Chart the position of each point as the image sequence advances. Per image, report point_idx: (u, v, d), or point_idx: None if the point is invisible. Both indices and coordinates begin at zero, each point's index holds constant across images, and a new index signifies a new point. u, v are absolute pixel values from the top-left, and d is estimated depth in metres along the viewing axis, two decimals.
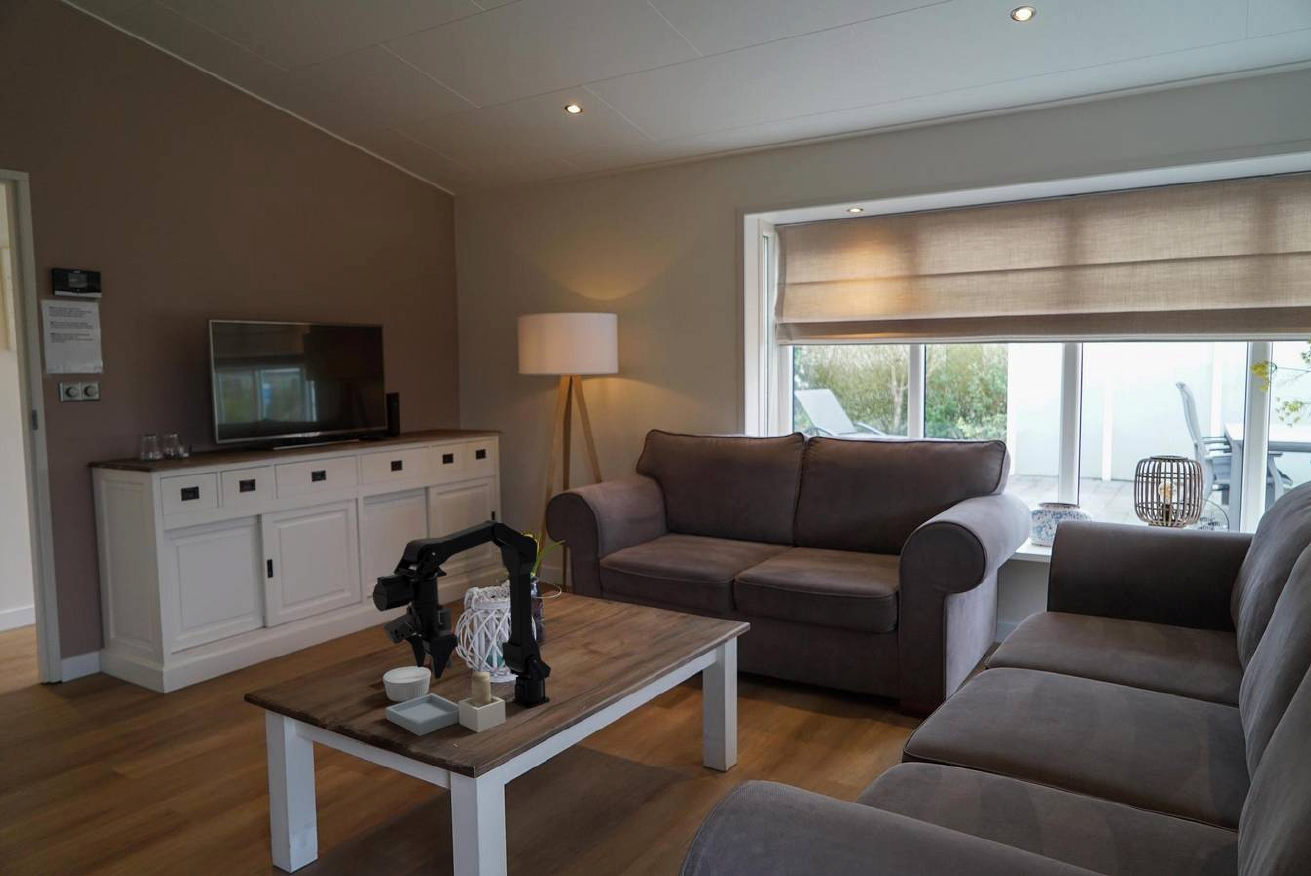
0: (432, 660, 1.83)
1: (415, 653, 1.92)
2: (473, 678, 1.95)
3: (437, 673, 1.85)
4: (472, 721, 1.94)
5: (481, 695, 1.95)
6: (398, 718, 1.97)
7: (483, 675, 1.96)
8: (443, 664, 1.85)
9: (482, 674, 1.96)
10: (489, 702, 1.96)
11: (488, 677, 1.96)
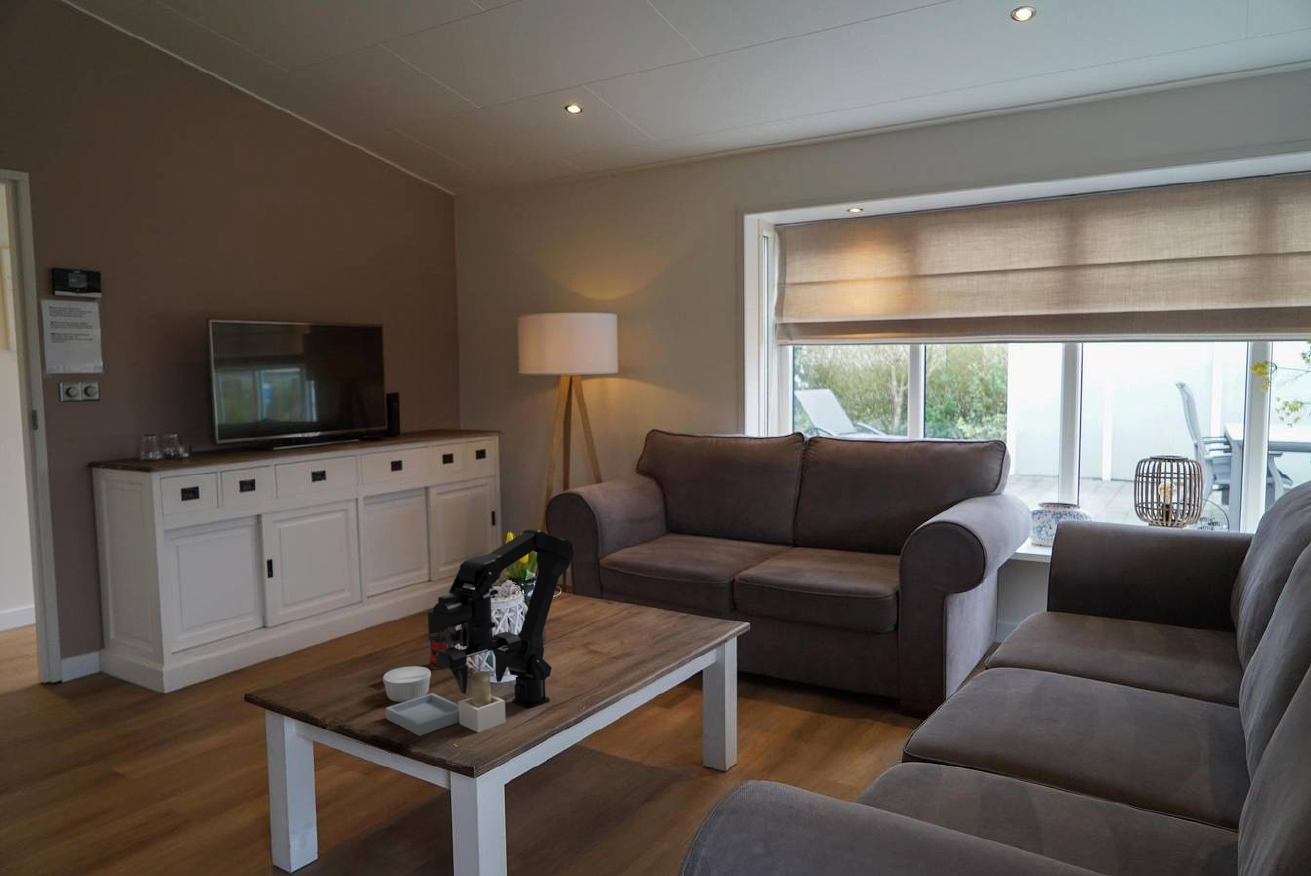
0: None
1: (495, 666, 2.00)
2: (473, 678, 1.95)
3: (460, 688, 1.93)
4: (472, 721, 1.94)
5: (481, 695, 1.95)
6: (398, 718, 1.97)
7: (483, 675, 1.96)
8: (461, 681, 1.92)
9: (482, 674, 1.96)
10: (489, 702, 1.96)
11: (488, 677, 1.96)
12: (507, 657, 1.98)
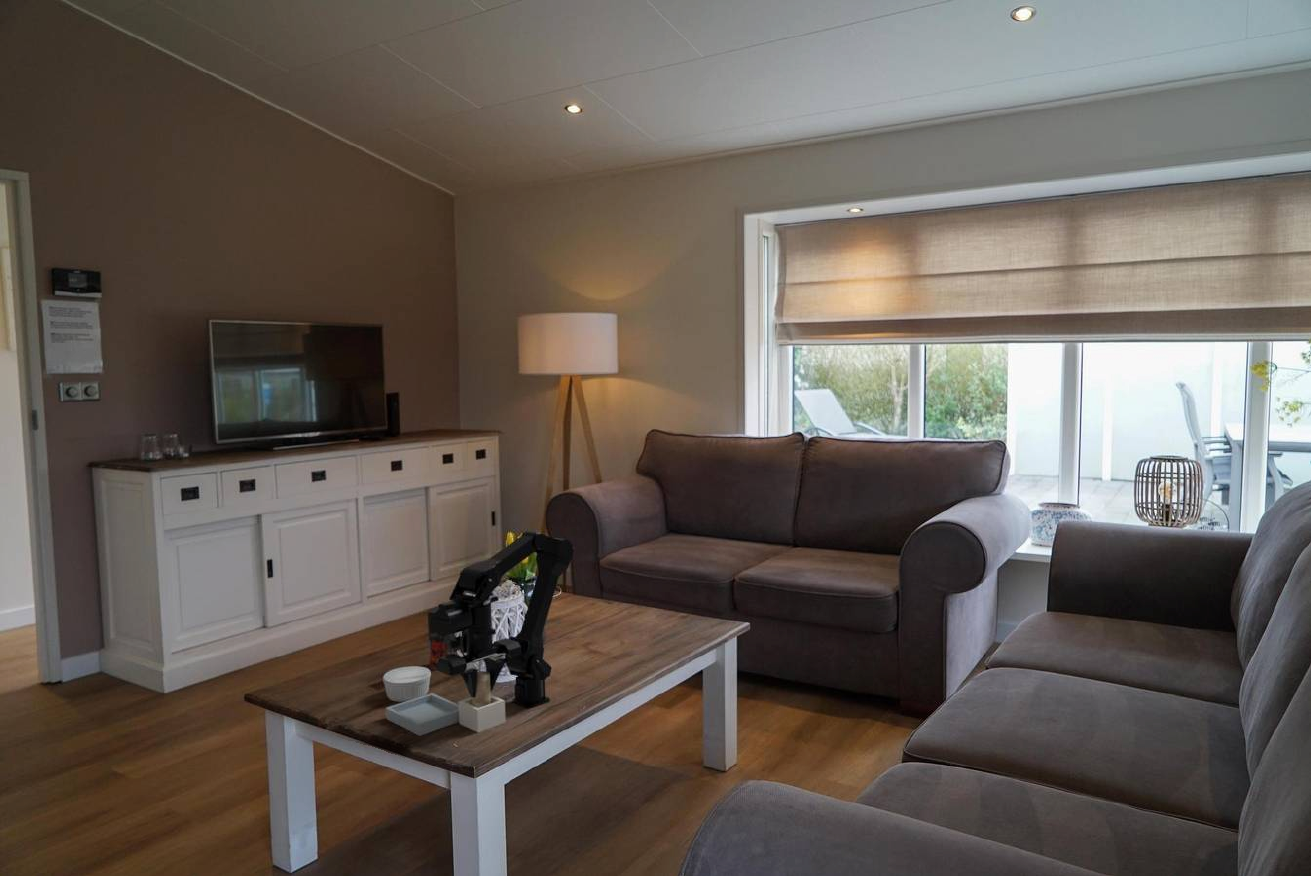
0: None
1: None
2: None
3: (470, 691, 1.95)
4: (472, 721, 1.94)
5: (481, 695, 1.95)
6: (398, 718, 1.97)
7: (483, 675, 1.96)
8: (471, 685, 1.94)
9: (482, 674, 1.96)
10: (489, 702, 1.96)
11: (488, 677, 1.96)
12: (498, 667, 1.97)
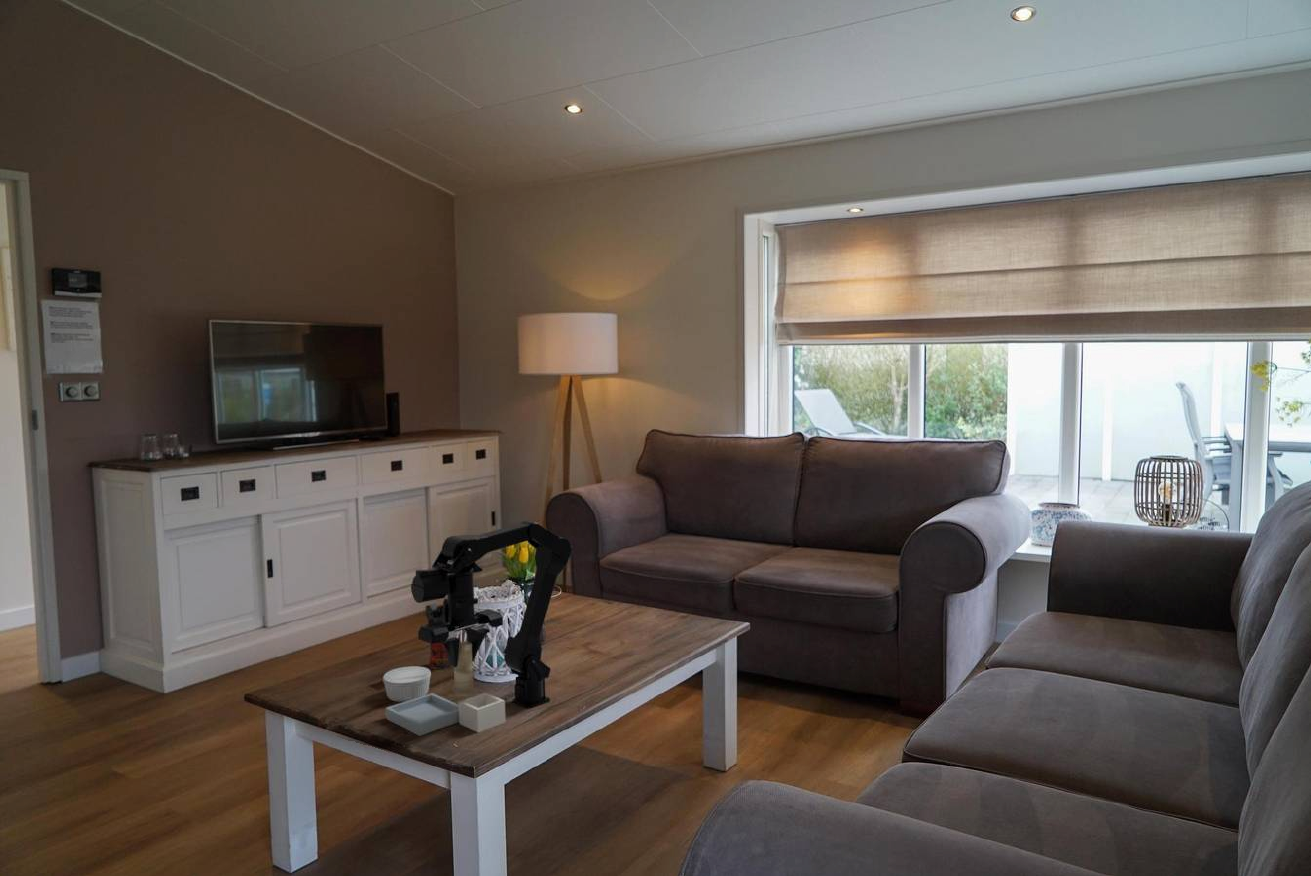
0: None
1: None
2: None
3: (451, 661, 1.95)
4: (472, 721, 1.94)
5: (463, 664, 1.95)
6: (398, 718, 1.97)
7: (465, 645, 1.96)
8: (453, 654, 1.94)
9: (464, 644, 1.96)
10: (471, 672, 1.96)
11: (470, 647, 1.96)
12: (480, 637, 1.97)
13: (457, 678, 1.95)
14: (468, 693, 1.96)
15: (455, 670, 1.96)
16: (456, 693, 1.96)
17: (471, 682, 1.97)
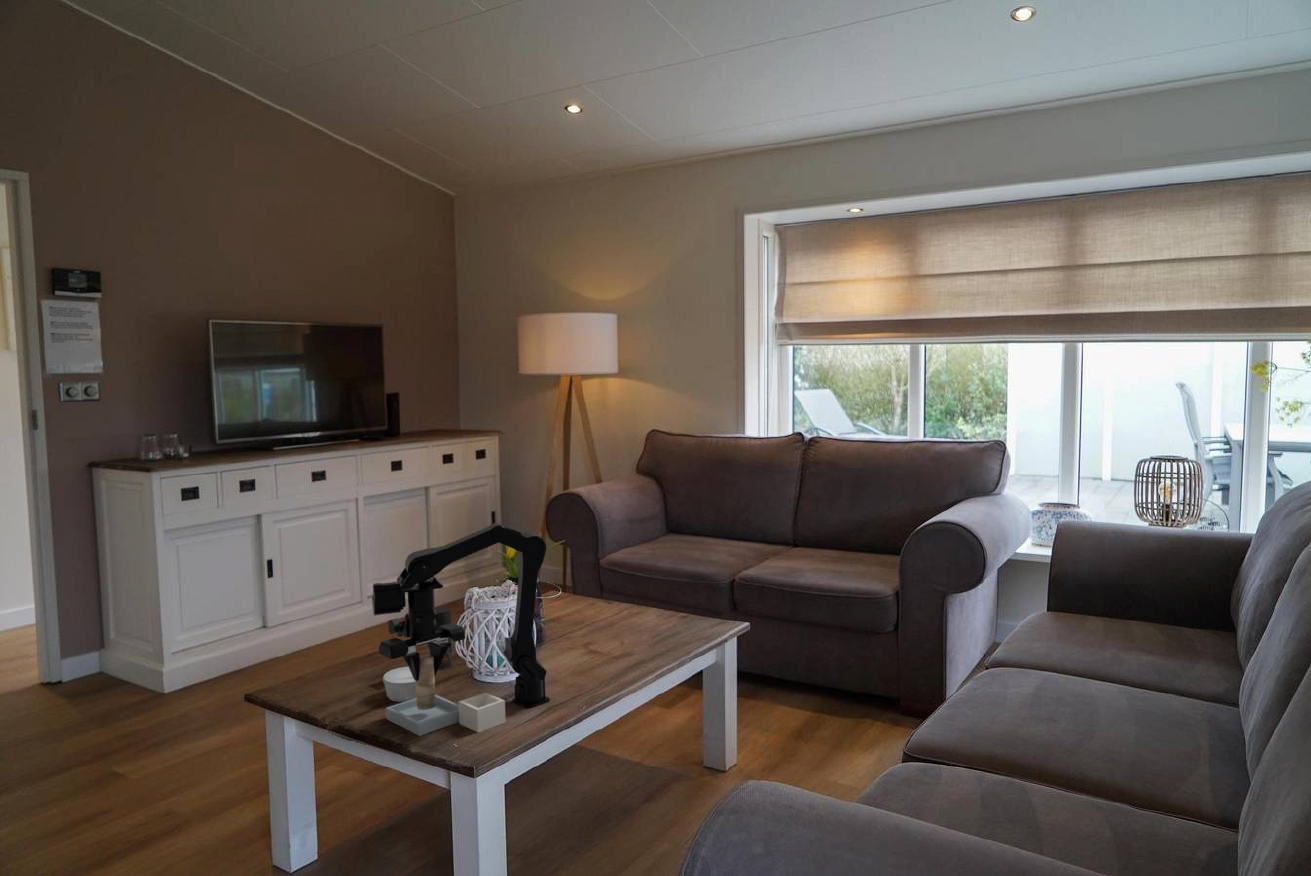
0: None
1: None
2: None
3: (413, 675, 1.98)
4: (472, 721, 1.94)
5: (424, 678, 1.98)
6: (398, 718, 1.97)
7: (426, 659, 1.99)
8: (414, 669, 1.97)
9: (425, 658, 1.99)
10: (433, 685, 1.99)
11: (431, 661, 1.99)
12: (442, 651, 1.99)
13: (418, 692, 1.98)
14: (430, 706, 1.99)
15: (417, 684, 1.98)
16: (418, 706, 1.99)
17: (433, 695, 1.99)
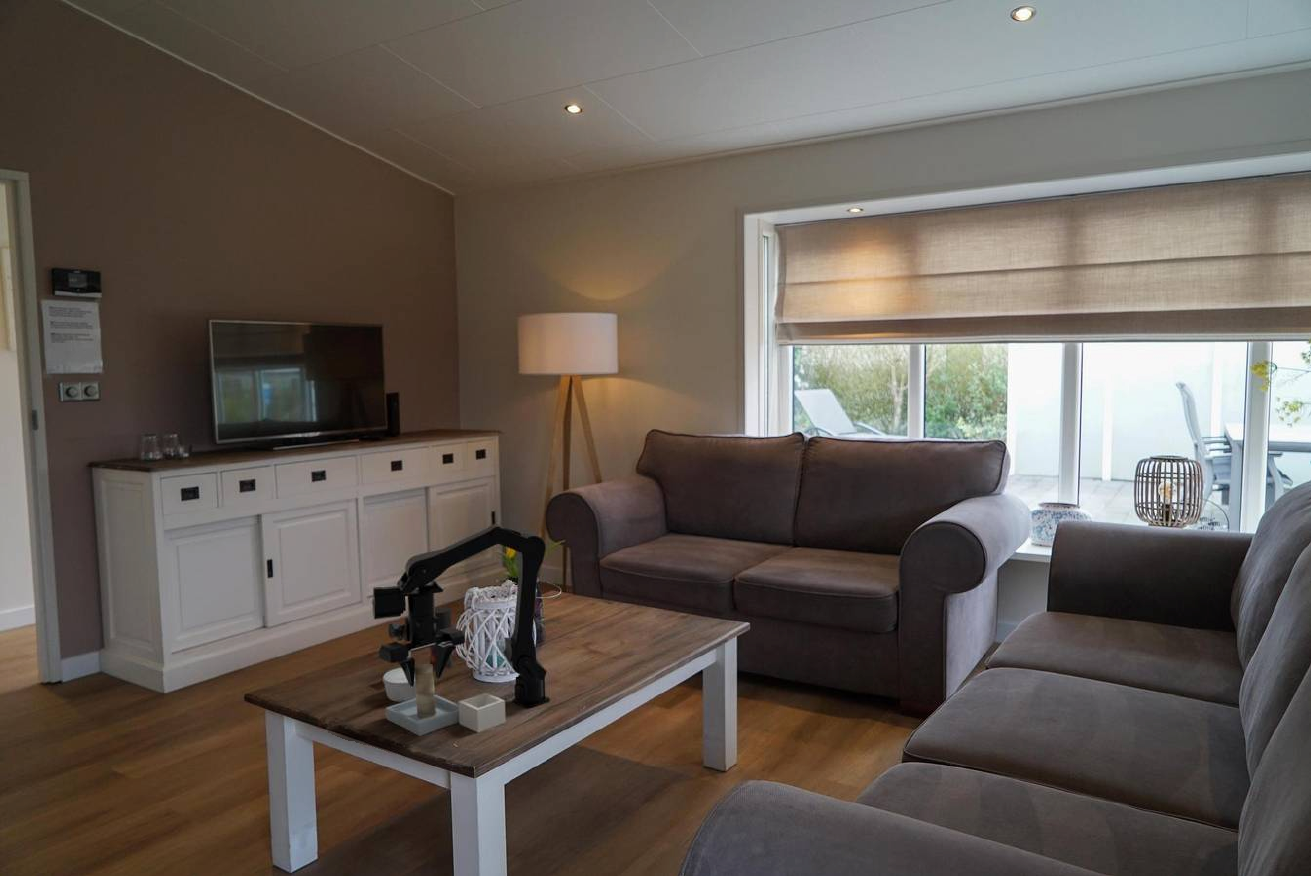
0: None
1: (435, 663, 2.02)
2: (416, 670, 1.98)
3: (408, 680, 1.97)
4: (472, 721, 1.94)
5: (424, 687, 1.98)
6: (398, 718, 1.97)
7: (426, 667, 1.99)
8: (409, 674, 1.96)
9: (425, 667, 1.99)
10: (432, 694, 1.99)
11: (431, 669, 1.99)
12: (446, 654, 2.00)
13: (418, 700, 1.98)
14: (430, 715, 1.99)
15: (417, 692, 1.98)
16: (418, 715, 1.99)
17: (433, 704, 1.99)
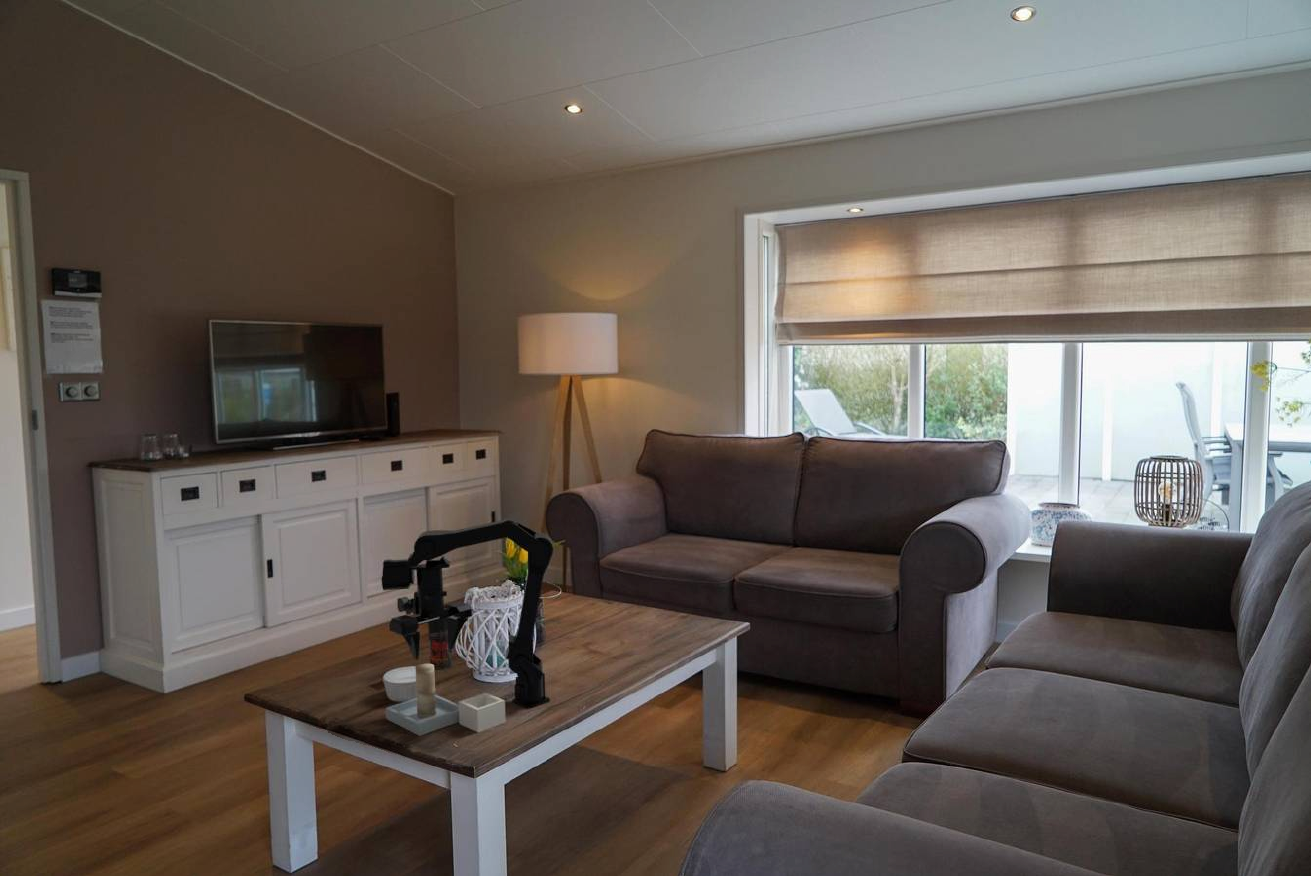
0: None
1: (447, 634, 2.09)
2: (417, 670, 1.98)
3: (413, 654, 2.02)
4: (472, 721, 1.94)
5: (425, 687, 1.98)
6: (398, 718, 1.97)
7: (427, 667, 1.99)
8: (414, 647, 2.00)
9: (426, 666, 1.99)
10: (433, 694, 1.99)
11: (432, 669, 1.99)
12: (459, 625, 2.07)
13: (419, 700, 1.98)
14: (430, 715, 1.99)
15: (417, 692, 1.99)
16: (418, 715, 1.99)
17: (433, 704, 1.99)
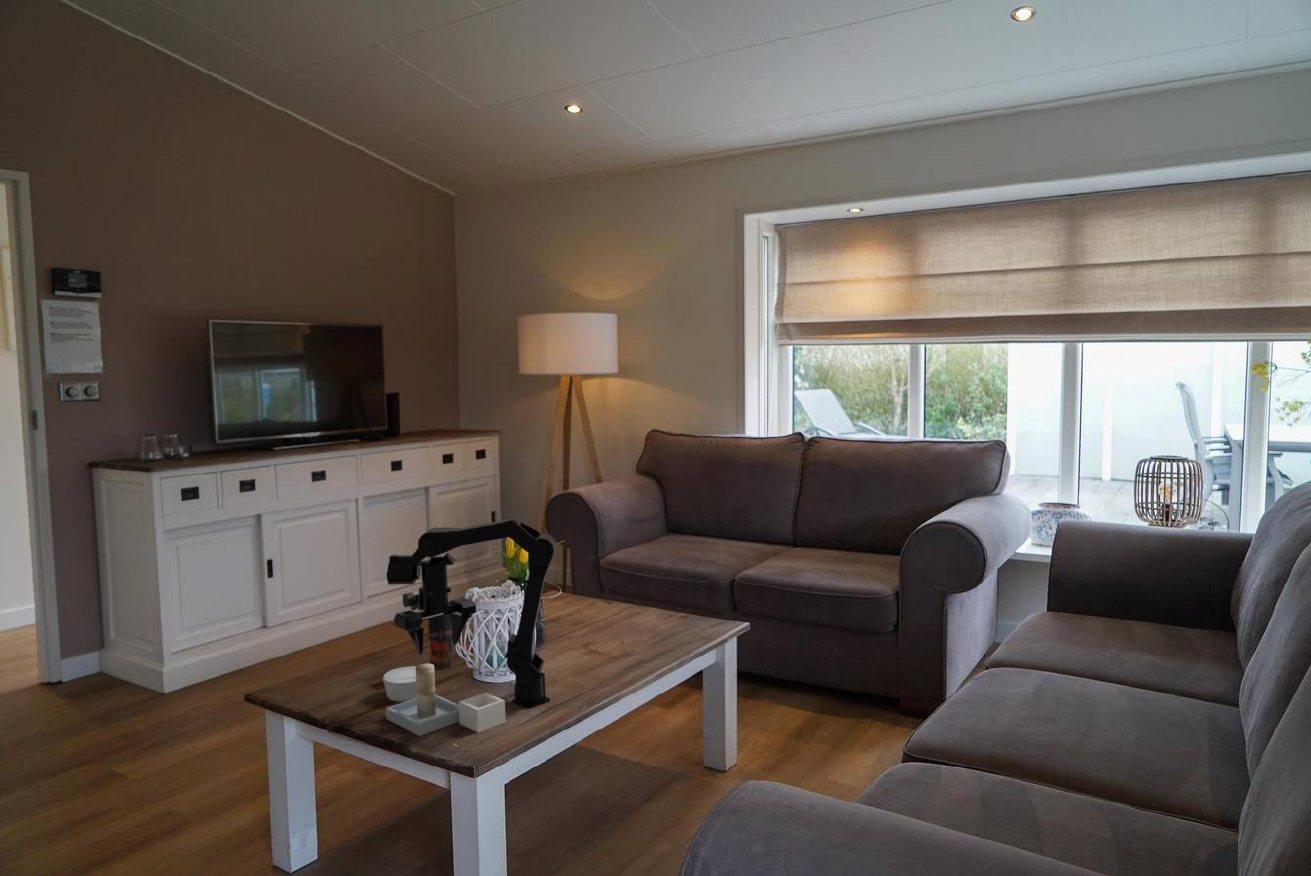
0: None
1: (452, 630, 2.12)
2: (417, 670, 1.98)
3: (417, 649, 2.05)
4: (472, 721, 1.94)
5: (425, 687, 1.98)
6: (398, 718, 1.97)
7: (427, 667, 1.99)
8: (418, 643, 2.03)
9: (426, 666, 1.99)
10: (433, 694, 1.99)
11: (432, 669, 1.99)
12: (463, 621, 2.10)
13: (419, 700, 1.98)
14: (430, 715, 1.99)
15: (417, 692, 1.99)
16: (418, 715, 1.99)
17: (433, 704, 1.99)
